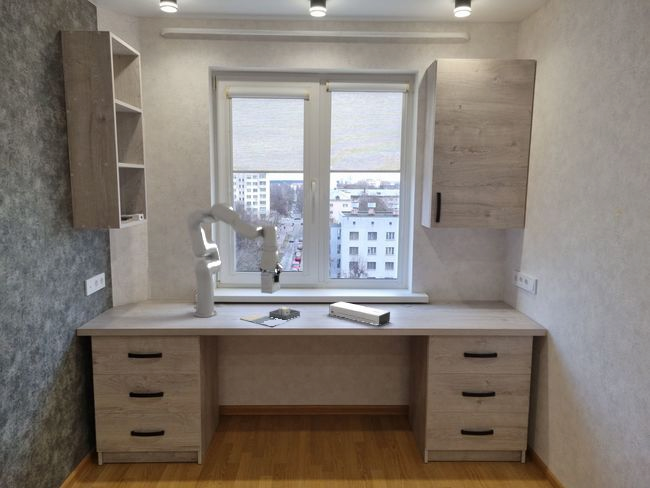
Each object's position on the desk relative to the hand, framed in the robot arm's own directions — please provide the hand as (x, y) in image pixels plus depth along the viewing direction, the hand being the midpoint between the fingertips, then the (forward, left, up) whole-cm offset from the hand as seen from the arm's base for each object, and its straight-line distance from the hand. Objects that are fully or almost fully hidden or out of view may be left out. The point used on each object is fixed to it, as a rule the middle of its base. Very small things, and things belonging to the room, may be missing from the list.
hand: (270, 281), depth 236 cm
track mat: (-5, 0, -23) cm, 23 cm away
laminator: (+33, +37, -23) cm, 55 cm away
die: (-1, +13, -22) cm, 26 cm away
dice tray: (-1, +13, -23) cm, 26 cm away
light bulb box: (0, 0, -6) cm, 6 cm away
